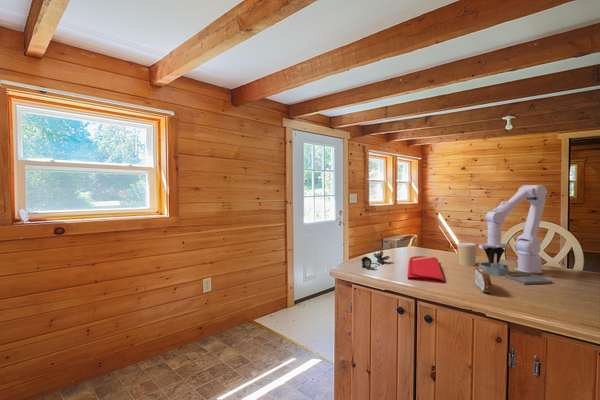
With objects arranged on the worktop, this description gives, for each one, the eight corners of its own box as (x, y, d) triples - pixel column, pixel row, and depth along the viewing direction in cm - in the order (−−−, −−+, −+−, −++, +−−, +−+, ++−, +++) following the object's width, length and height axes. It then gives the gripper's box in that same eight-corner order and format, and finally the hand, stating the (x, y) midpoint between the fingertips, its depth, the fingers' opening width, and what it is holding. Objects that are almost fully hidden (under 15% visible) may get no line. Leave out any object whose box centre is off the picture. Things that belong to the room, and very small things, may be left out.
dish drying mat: (407, 280, 142) (407, 272, 141) (408, 261, 180) (408, 255, 180) (444, 284, 136) (444, 276, 136) (438, 263, 174) (438, 257, 174)
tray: (530, 277, 145) (530, 273, 145) (551, 284, 134) (551, 280, 134) (505, 278, 144) (505, 274, 144) (524, 285, 133) (524, 281, 133)
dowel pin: (494, 267, 153) (494, 252, 153) (498, 268, 151) (498, 253, 151) (489, 267, 153) (489, 252, 153) (493, 269, 151) (493, 254, 150)
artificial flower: (357, 270, 164) (355, 251, 167) (381, 268, 179) (379, 250, 181) (371, 268, 158) (368, 249, 160) (395, 266, 173) (392, 248, 175)
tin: (492, 295, 120) (492, 274, 120) (483, 295, 121) (483, 274, 121) (481, 284, 134) (481, 265, 134) (473, 283, 135) (473, 265, 135)
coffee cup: (471, 263, 172) (472, 242, 171) (480, 267, 163) (480, 245, 162) (454, 263, 173) (454, 242, 172) (461, 267, 164) (462, 245, 163)
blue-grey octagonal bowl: (495, 269, 159) (495, 261, 159) (514, 276, 147) (515, 267, 147) (473, 270, 158) (473, 262, 157) (491, 277, 145) (491, 268, 145)
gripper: (486, 237, 147) (486, 265, 147) (514, 236, 148) (513, 264, 149) (476, 235, 154) (476, 261, 154) (502, 234, 155) (502, 260, 156)
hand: (493, 262), depth 152 cm, fingers closed on dowel pin, 2 cm apart
